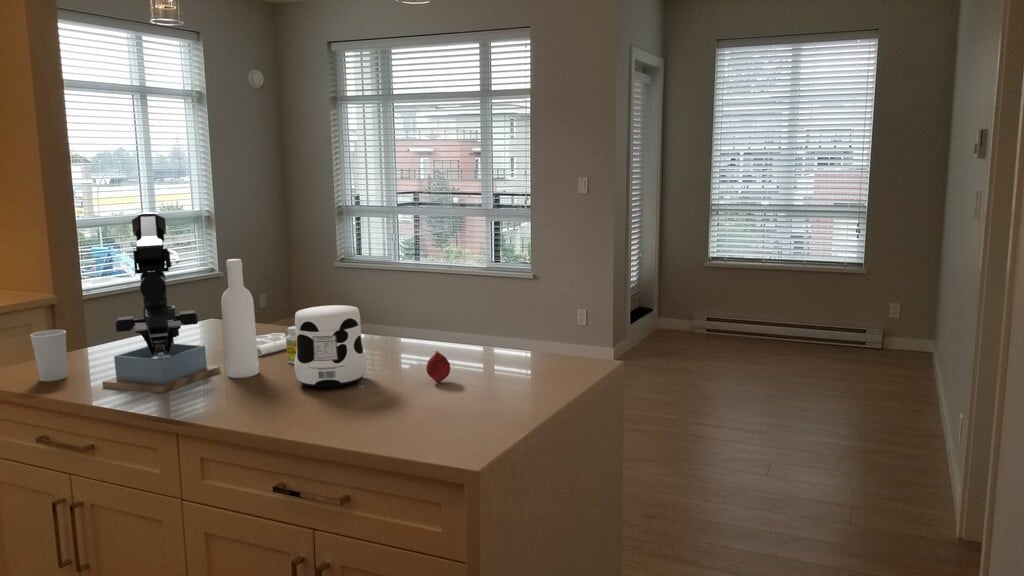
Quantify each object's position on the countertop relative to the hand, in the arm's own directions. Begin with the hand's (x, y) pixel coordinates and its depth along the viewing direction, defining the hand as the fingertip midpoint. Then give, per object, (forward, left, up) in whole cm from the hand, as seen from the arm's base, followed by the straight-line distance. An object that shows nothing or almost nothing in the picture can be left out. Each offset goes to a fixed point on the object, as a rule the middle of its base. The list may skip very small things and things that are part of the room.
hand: (160, 353), depth 200 cm
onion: (-17, +70, -7) cm, 72 cm away
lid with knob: (0, 0, -2) cm, 2 cm away
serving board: (0, 0, -7) cm, 7 cm away
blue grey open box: (0, -1, -5) cm, 5 cm away
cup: (+7, -30, -7) cm, 32 cm away
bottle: (-10, +17, -7) cm, 21 cm away
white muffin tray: (-34, +4, -7) cm, 35 cm away
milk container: (-10, +44, -7) cm, 46 cm away
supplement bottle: (-25, +23, -7) cm, 35 cm away
